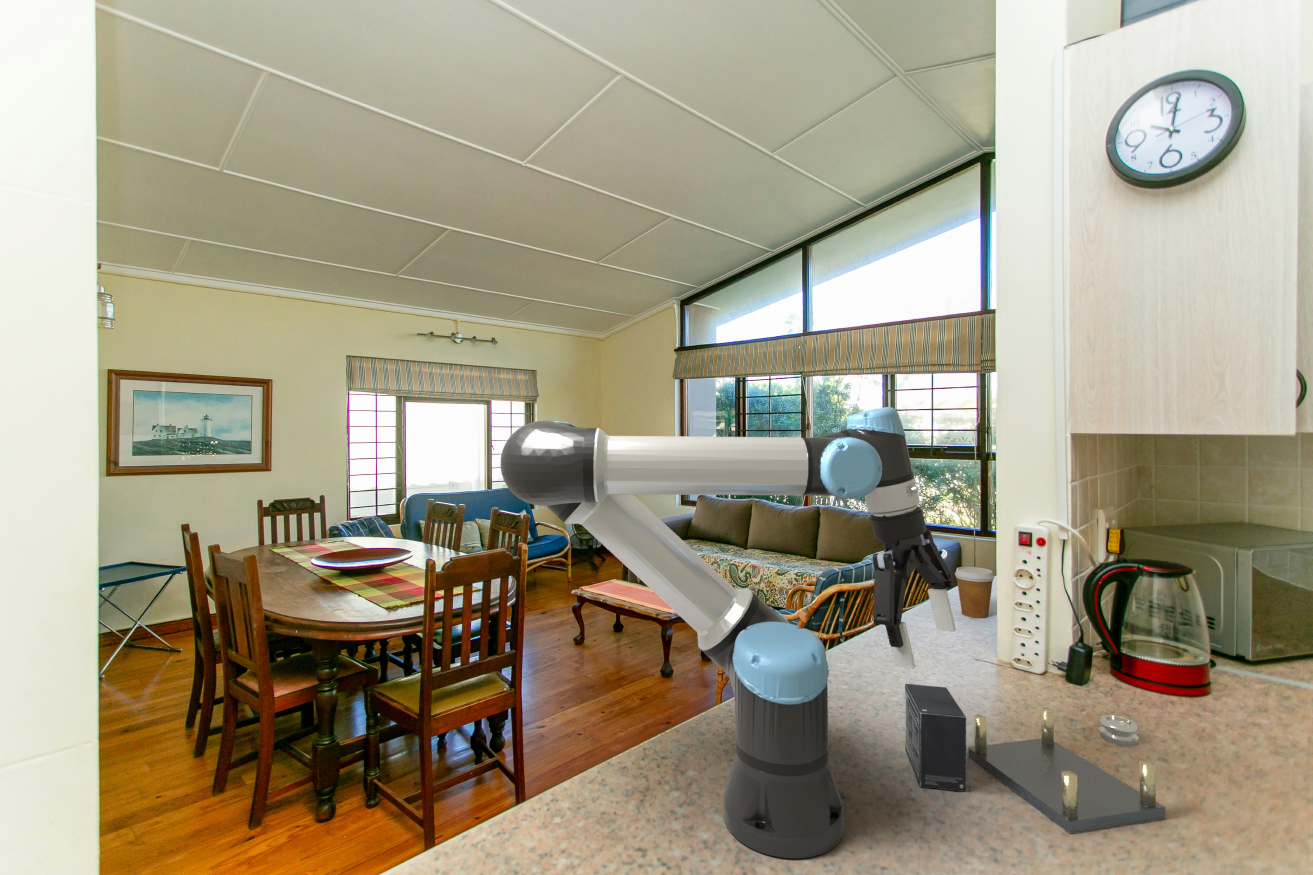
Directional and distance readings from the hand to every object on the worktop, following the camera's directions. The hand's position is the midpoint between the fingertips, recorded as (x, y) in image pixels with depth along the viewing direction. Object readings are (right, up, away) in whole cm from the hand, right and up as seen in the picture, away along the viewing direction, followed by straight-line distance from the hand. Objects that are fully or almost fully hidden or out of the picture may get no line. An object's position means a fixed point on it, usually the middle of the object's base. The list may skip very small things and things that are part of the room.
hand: (927, 647), depth 91 cm
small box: (0, -17, -3) cm, 17 cm away
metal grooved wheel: (+33, -17, +5) cm, 37 cm away
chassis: (+15, -17, -7) cm, 23 cm away
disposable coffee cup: (+45, -16, +72) cm, 86 cm away
